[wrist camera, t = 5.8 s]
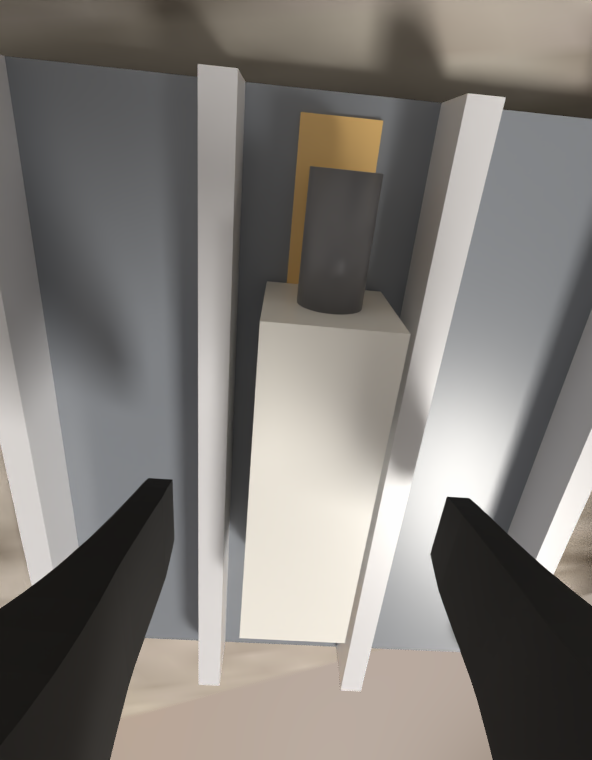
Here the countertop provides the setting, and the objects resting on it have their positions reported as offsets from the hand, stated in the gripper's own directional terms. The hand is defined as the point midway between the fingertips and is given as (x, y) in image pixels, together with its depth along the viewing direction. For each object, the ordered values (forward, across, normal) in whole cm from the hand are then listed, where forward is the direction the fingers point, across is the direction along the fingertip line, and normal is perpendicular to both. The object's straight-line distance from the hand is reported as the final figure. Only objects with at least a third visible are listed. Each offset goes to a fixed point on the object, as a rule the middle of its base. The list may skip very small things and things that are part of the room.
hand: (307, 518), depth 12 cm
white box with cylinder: (+3, 0, -2) cm, 4 cm away
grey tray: (+4, 0, 0) cm, 4 cm away
